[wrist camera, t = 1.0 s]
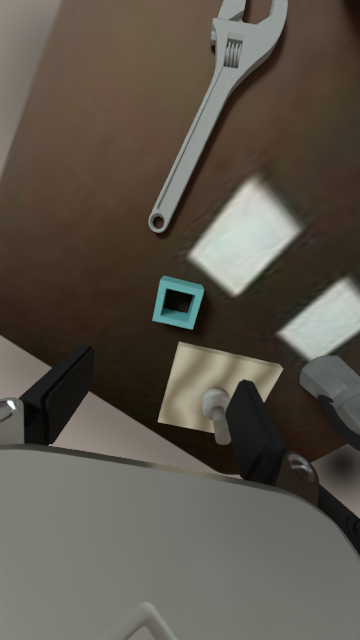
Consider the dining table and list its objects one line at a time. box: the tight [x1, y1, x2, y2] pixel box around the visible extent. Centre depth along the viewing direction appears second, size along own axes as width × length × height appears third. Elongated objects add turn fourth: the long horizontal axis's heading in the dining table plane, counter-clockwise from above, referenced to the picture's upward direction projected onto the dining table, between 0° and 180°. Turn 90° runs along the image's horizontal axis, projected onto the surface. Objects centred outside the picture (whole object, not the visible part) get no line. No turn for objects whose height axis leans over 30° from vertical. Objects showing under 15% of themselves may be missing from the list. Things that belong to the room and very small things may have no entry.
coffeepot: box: [299, 356, 360, 453], centre depth 26 cm, size 15×9×18 cm, turn 74°
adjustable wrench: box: [149, 0, 287, 233], centre depth 21 cm, size 25×6×2 cm, turn 145°
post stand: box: [158, 342, 283, 445], centre depth 33 cm, size 20×20×10 cm
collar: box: [153, 276, 204, 330], centre depth 28 cm, size 6×6×4 cm
